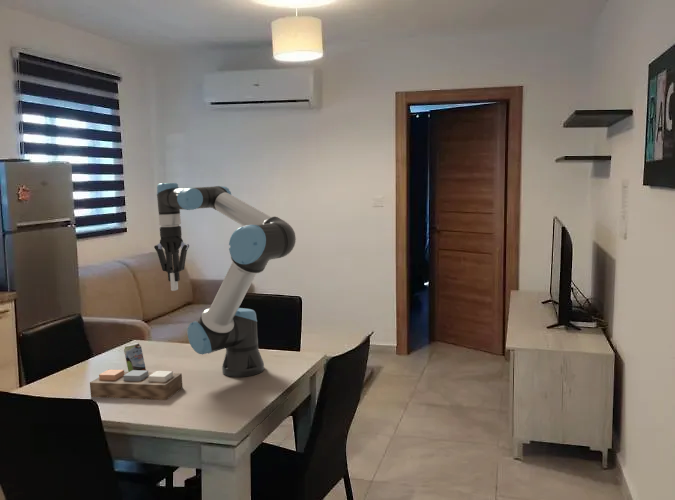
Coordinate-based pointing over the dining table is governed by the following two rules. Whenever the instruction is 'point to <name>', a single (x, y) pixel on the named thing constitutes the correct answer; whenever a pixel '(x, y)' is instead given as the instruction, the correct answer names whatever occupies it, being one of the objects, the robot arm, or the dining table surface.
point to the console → (136, 388)
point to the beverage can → (134, 357)
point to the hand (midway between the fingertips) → (174, 290)
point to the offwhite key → (160, 376)
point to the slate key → (136, 375)
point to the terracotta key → (111, 374)
